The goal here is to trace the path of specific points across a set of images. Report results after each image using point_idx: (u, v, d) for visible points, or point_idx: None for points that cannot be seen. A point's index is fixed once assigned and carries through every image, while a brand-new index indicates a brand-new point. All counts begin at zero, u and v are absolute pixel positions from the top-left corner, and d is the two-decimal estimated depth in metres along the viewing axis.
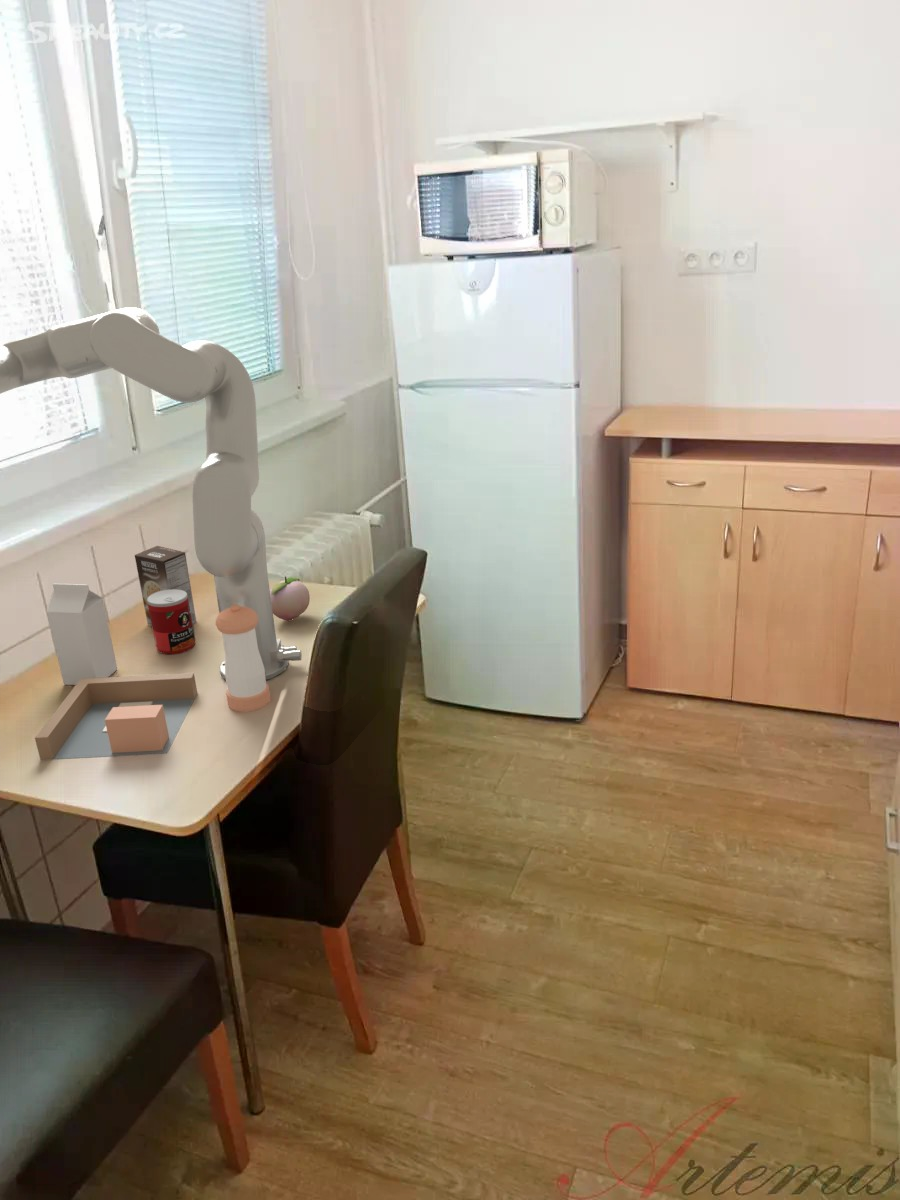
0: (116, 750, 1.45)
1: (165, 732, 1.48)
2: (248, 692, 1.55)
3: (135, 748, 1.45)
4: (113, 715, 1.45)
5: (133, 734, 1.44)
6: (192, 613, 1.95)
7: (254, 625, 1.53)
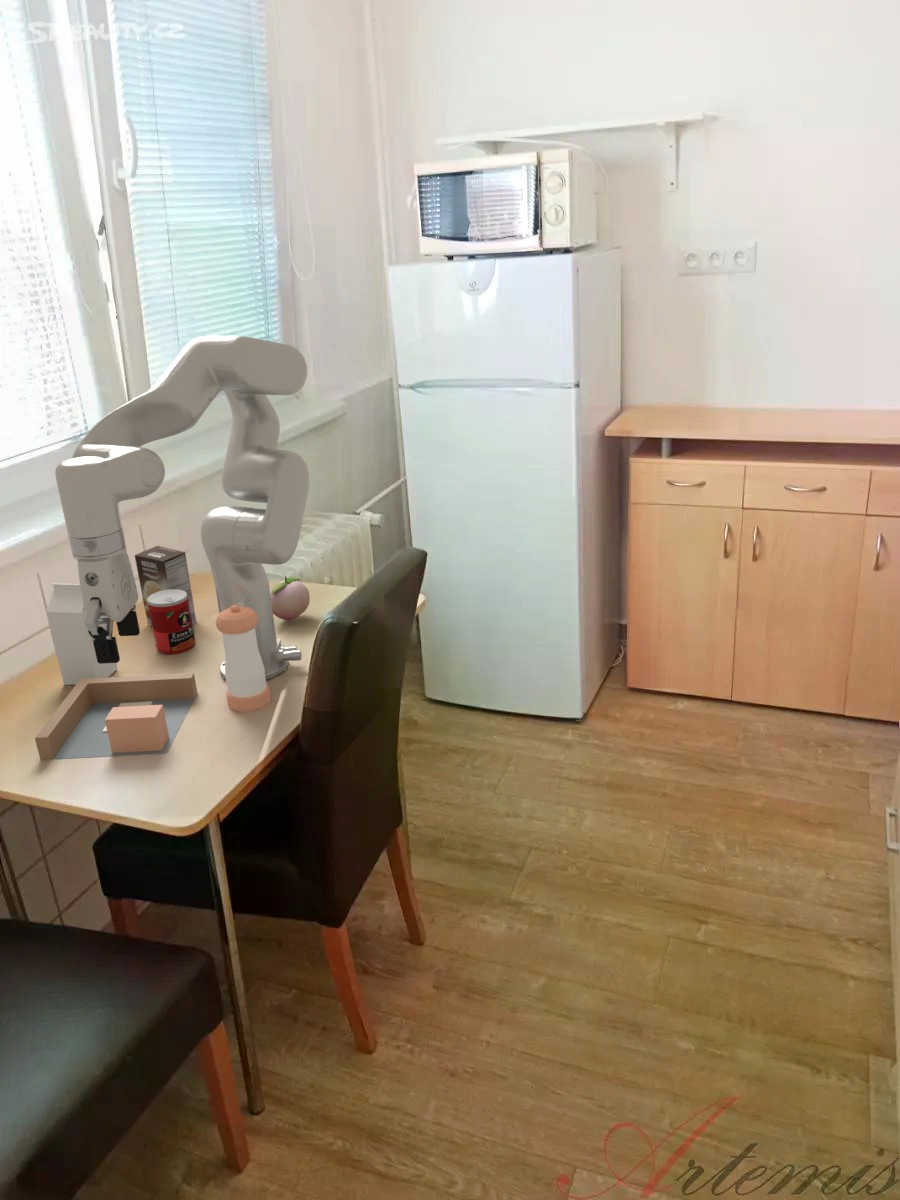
0: (116, 750, 1.45)
1: (165, 732, 1.48)
2: (248, 692, 1.55)
3: (135, 748, 1.45)
4: (113, 715, 1.45)
5: (133, 734, 1.44)
6: (192, 613, 1.95)
7: (254, 625, 1.53)
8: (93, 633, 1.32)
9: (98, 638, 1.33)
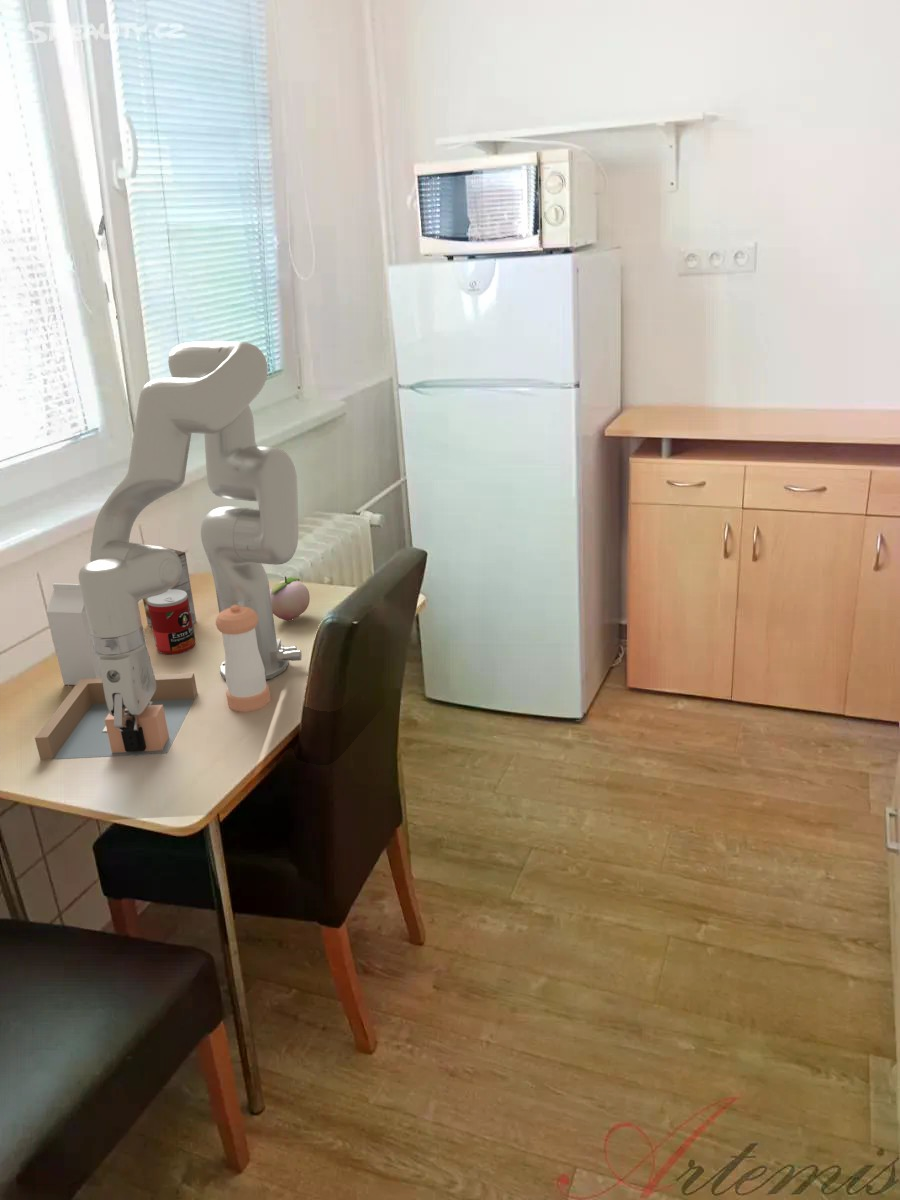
0: (116, 750, 1.45)
1: (165, 732, 1.48)
2: (248, 692, 1.55)
3: None
4: None
5: None
6: (192, 613, 1.95)
7: (254, 625, 1.53)
8: (122, 726, 1.40)
9: (126, 730, 1.42)
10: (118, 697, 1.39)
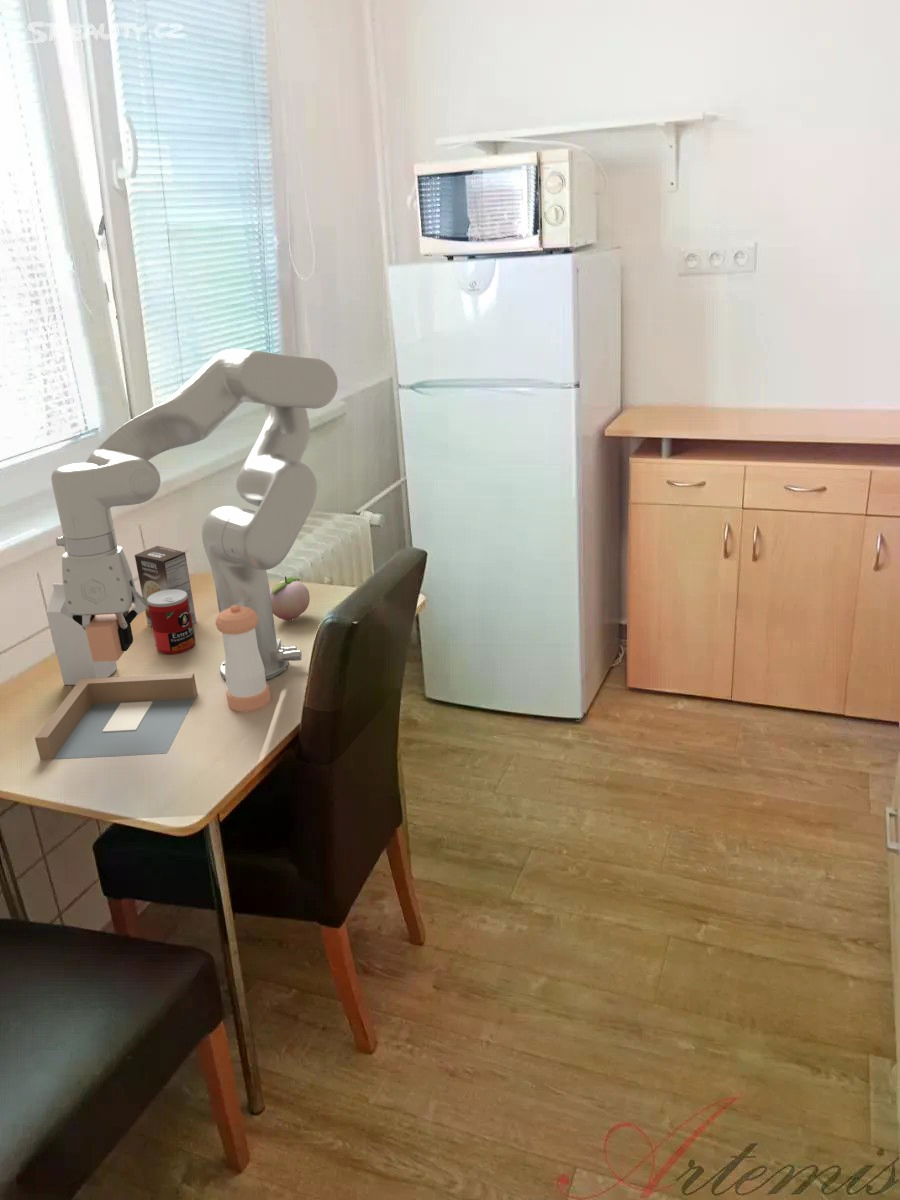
0: None
1: (108, 652, 1.47)
2: (248, 692, 1.55)
3: None
4: None
5: None
6: (192, 613, 1.95)
7: (254, 625, 1.53)
8: None
9: None
10: None
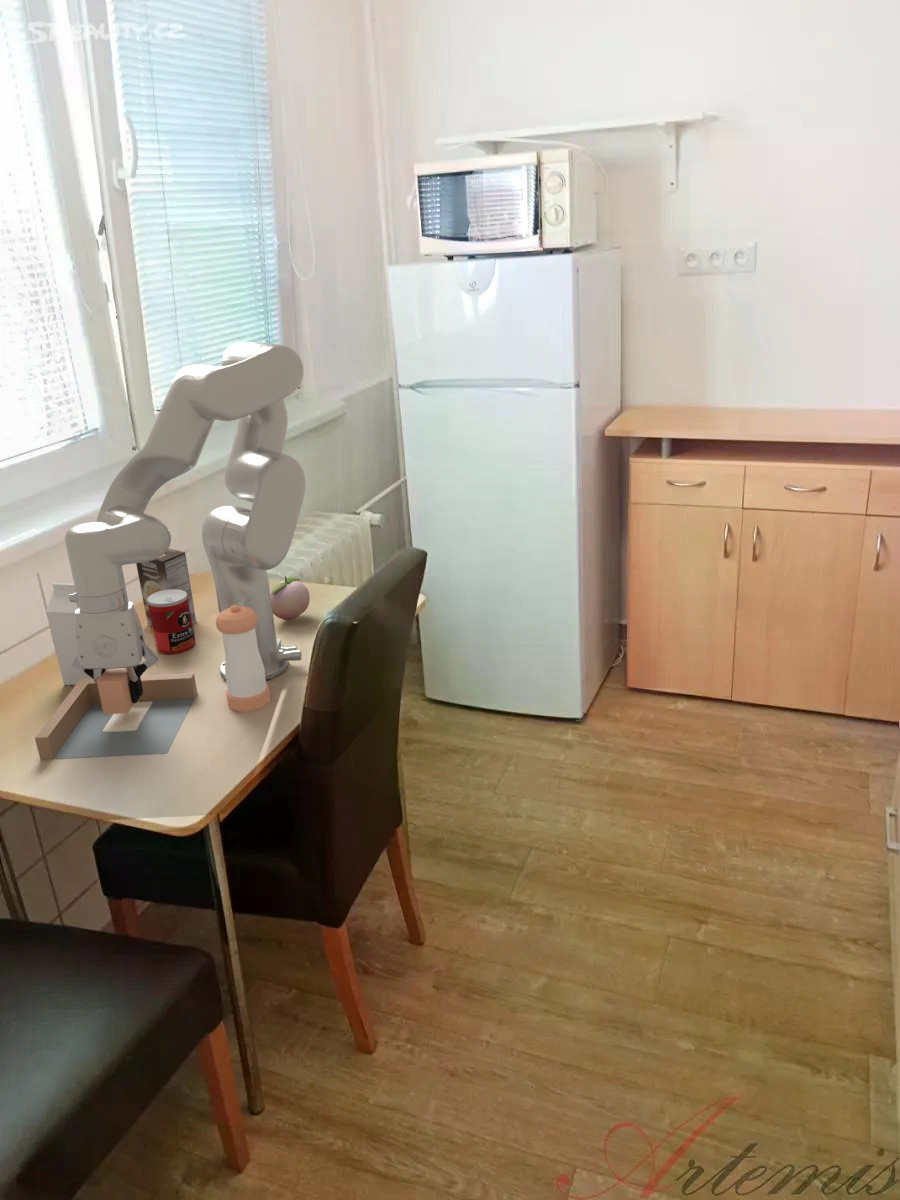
0: None
1: (119, 705, 1.51)
2: (248, 692, 1.55)
3: None
4: None
5: None
6: (192, 613, 1.95)
7: (254, 625, 1.53)
8: None
9: None
10: None
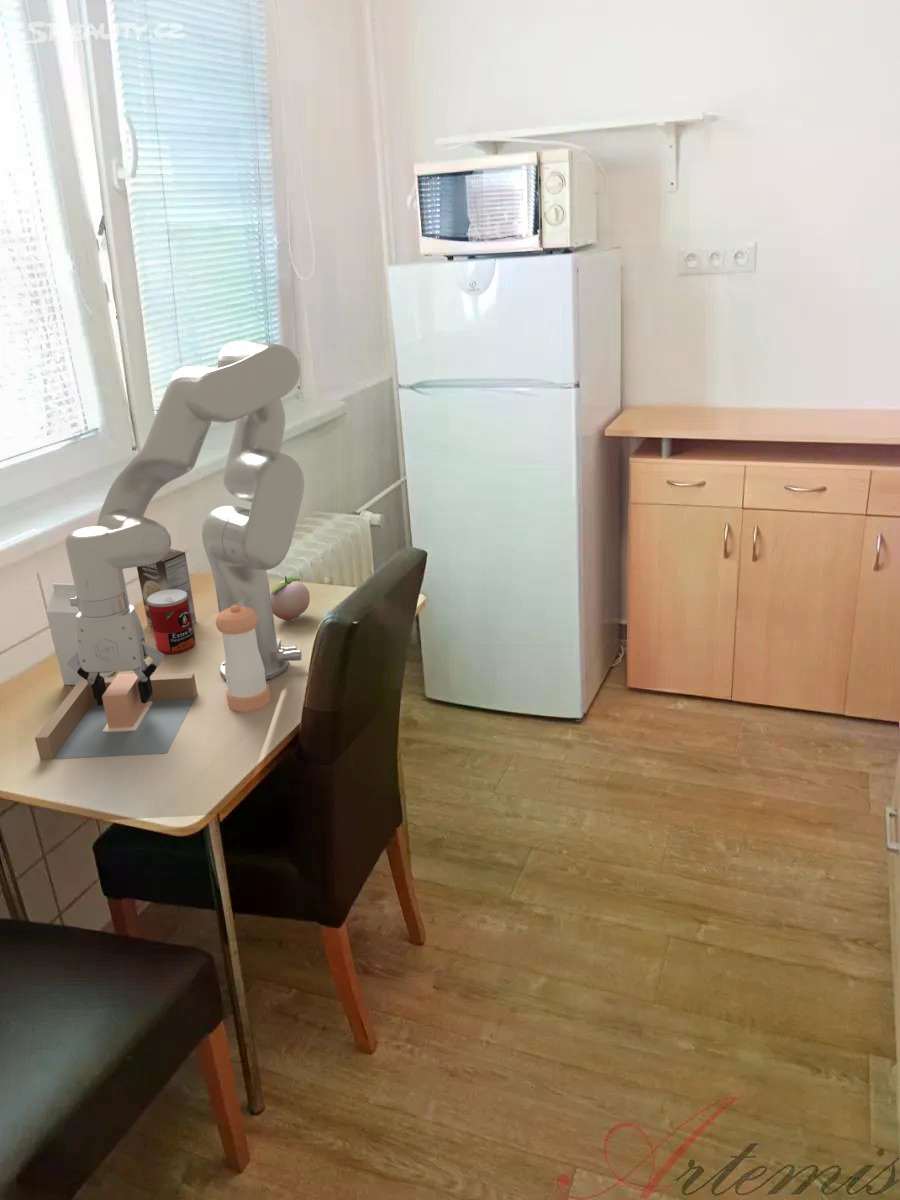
0: None
1: (124, 719, 1.52)
2: (248, 692, 1.55)
3: None
4: (123, 676, 1.57)
5: None
6: (192, 613, 1.95)
7: (254, 625, 1.53)
8: None
9: None
10: None
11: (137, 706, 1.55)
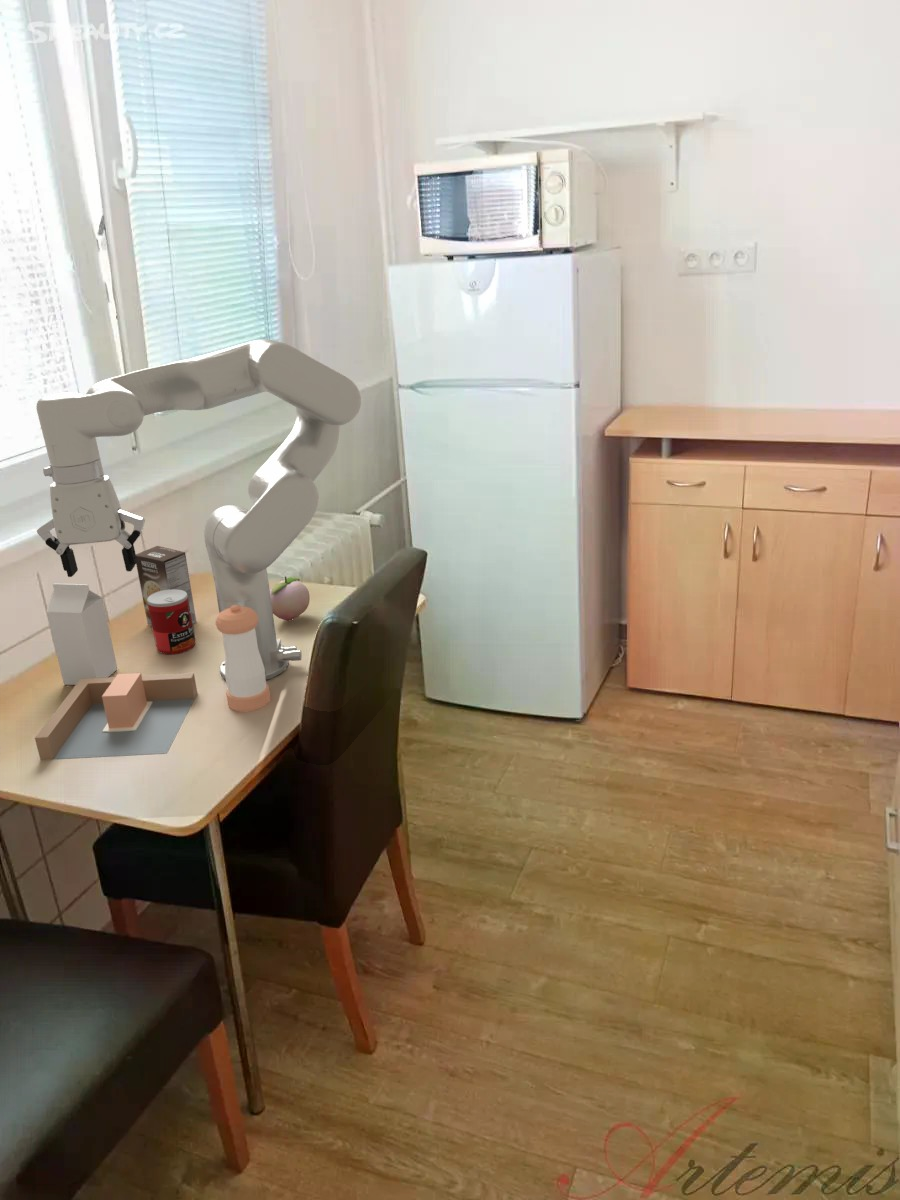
0: None
1: (124, 719, 1.52)
2: (248, 692, 1.55)
3: None
4: (123, 676, 1.57)
5: None
6: (192, 613, 1.95)
7: (254, 625, 1.53)
8: None
9: None
10: None
11: (137, 706, 1.55)
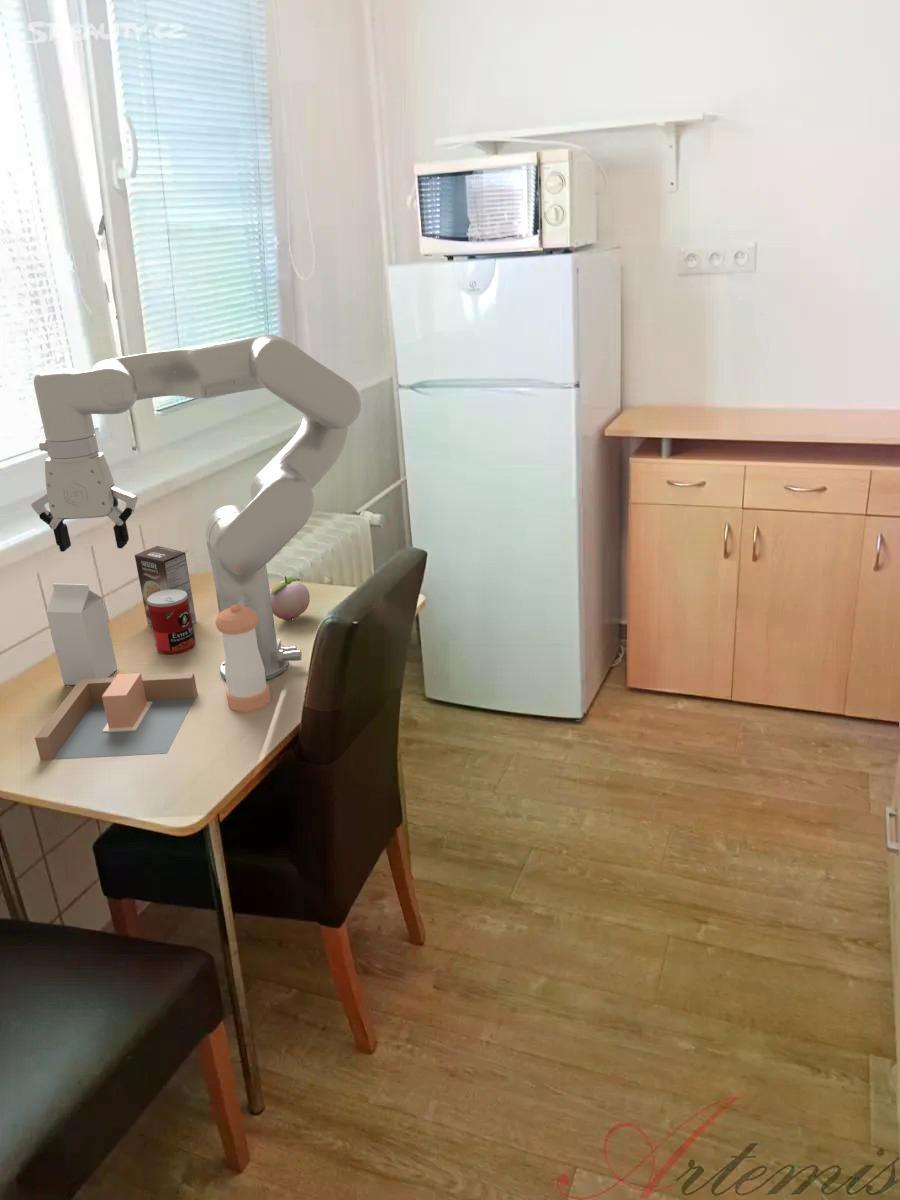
0: None
1: (124, 719, 1.52)
2: (248, 692, 1.55)
3: None
4: (123, 676, 1.57)
5: None
6: (192, 613, 1.95)
7: (254, 625, 1.53)
8: None
9: None
10: None
11: (137, 706, 1.55)
